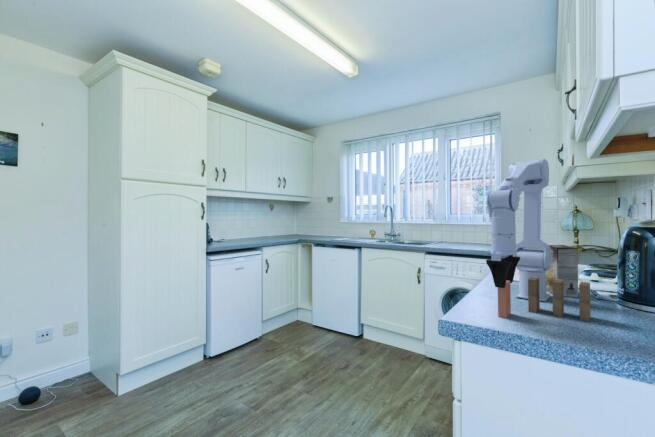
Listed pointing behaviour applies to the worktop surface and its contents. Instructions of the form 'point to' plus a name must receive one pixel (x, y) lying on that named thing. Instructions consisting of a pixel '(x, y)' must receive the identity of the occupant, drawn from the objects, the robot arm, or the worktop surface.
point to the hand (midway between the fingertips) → (504, 284)
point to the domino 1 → (504, 301)
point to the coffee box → (563, 269)
